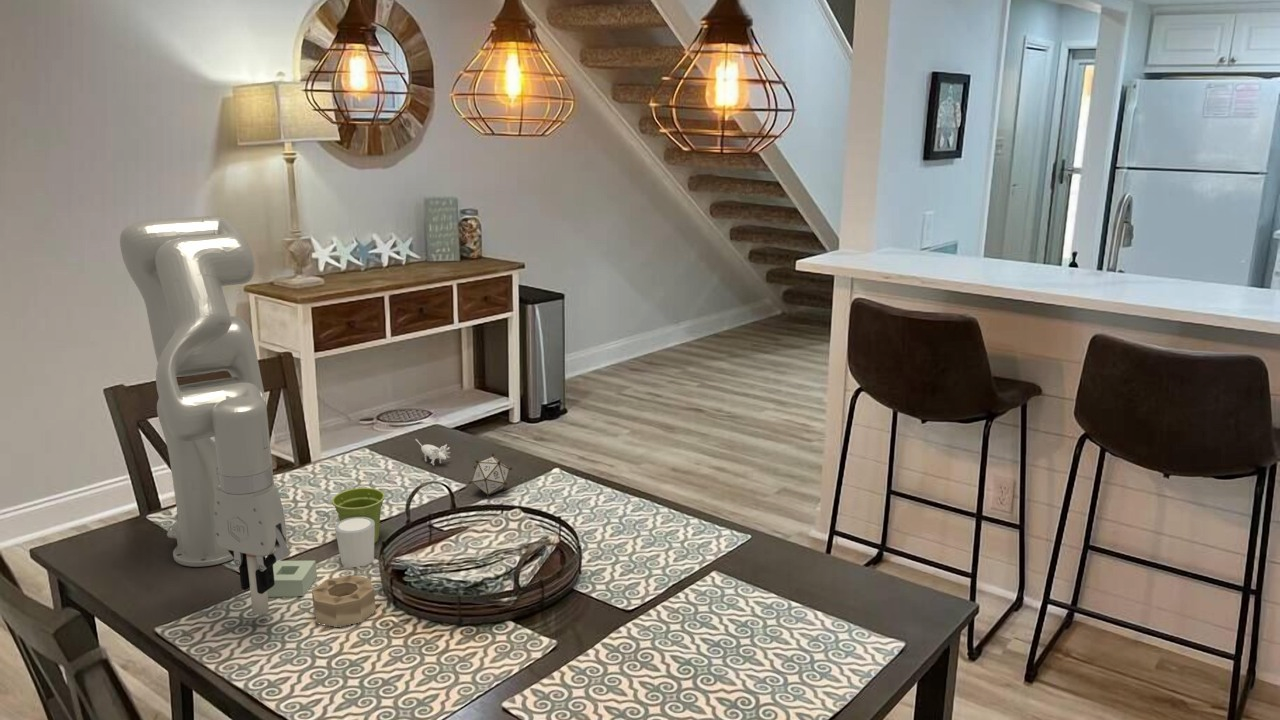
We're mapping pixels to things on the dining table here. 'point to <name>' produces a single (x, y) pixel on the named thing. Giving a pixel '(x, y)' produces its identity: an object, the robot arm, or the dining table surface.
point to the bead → (343, 600)
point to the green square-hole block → (292, 578)
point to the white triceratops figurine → (434, 452)
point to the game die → (490, 475)
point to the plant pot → (360, 505)
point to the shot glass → (356, 541)
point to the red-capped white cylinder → (257, 599)
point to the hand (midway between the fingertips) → (258, 586)
